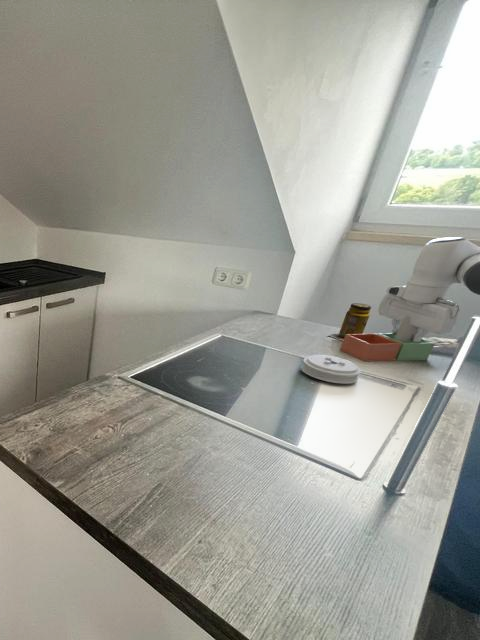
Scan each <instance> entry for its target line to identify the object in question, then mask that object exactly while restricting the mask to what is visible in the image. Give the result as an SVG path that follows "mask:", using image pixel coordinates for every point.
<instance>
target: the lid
mask: <svg viewBox="0 0 480 640" xmlns="http://www.w3.org/2000/svg"><path fill="white" fill-rule="evenodd" d="M302 361H303V364H302V365H301V367H300V370H301V371H302V372H303V373H304V374H306V375H308V376H309V377H312V378H315V379H316V380H317V379H318V380H320V381H325V382H328V383H335V384H353V383H356V382H357V381H358V380H359V378H358V376H359V375H360V374H361V372H362V370H361V368H360V367H358V365H357V364H355V362H353V361H350V360H348V359H345V358H342V357H338V356H332V355H327V354H312V355H309V356H306V357H304V358H303V360H302Z"/></svg>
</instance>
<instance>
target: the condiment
mask: <svg viewBox="0 0 480 640" xmlns="http://www.w3.org/2000/svg"><path fill="white" fill-rule="evenodd" d="M371 309H372V306H371V305H369V304H365V303H358V302H355V303H351V304H350V307H349V309H348V310H347V311H346V313H345V316H344V318H343V321H342V324H341V327H340V330H339V332H338V333H331V334H330V333H329V334H328V336H329V337H331V338H334V339H337V340H339V341H342V342H343V341H344V338H345V335H346V334H364V331H365V328H366V326H367V323H368V321H369V318H370V313H371Z"/></svg>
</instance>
